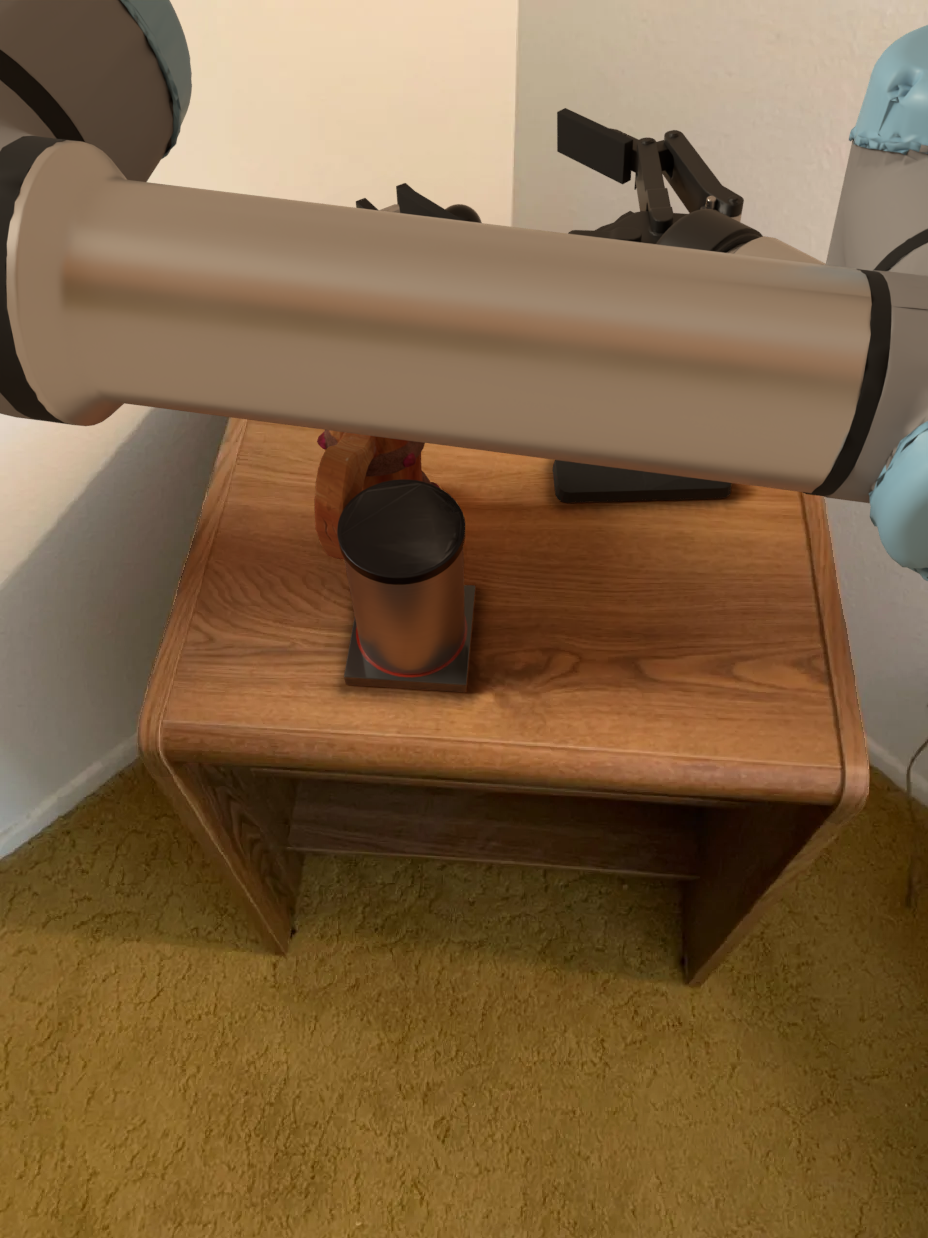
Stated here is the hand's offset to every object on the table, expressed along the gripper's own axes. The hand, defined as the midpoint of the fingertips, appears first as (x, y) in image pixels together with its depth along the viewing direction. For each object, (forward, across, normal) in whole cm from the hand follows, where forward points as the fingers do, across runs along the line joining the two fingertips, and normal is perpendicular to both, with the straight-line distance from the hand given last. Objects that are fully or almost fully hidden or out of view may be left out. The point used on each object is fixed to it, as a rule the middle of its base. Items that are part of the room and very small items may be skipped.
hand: (485, 167), depth 62 cm
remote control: (-10, +6, -26) cm, 29 cm away
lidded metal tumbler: (-11, -18, -24) cm, 32 cm away
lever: (+10, +1, -11) cm, 14 cm away
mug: (-2, -16, -25) cm, 30 cm away
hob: (-11, -18, -25) cm, 33 cm away
